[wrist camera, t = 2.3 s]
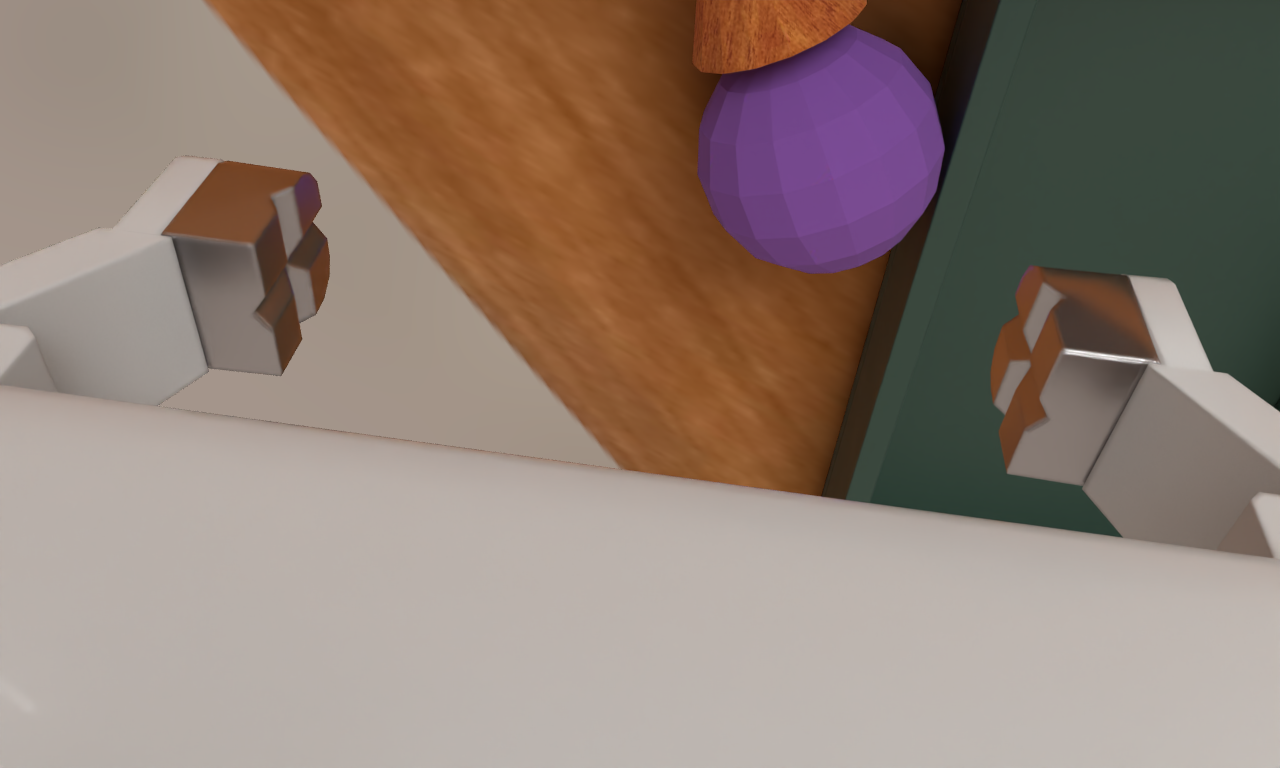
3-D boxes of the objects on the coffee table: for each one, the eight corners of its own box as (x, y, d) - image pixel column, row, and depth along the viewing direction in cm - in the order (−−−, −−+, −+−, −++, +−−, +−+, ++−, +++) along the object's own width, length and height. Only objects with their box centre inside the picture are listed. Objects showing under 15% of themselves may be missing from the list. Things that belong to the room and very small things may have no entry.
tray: (1042, -286, 22) (1075, -243, 19) (1712, -216, 22) (1838, -164, 19) (817, 506, 40) (818, 584, 37) (1184, 555, 39) (1211, 637, 36)
